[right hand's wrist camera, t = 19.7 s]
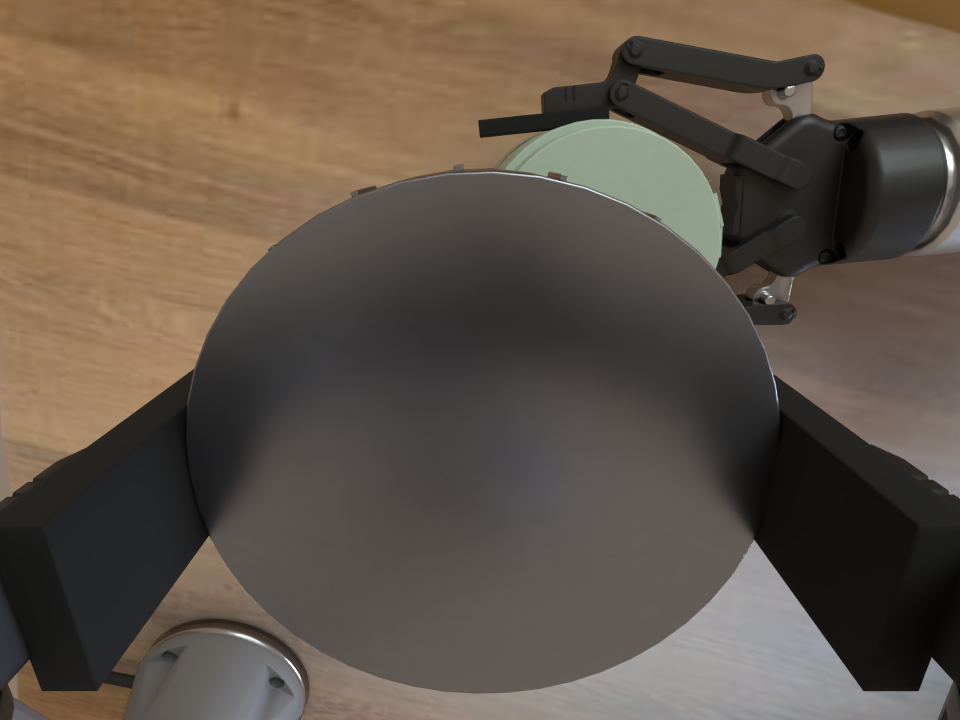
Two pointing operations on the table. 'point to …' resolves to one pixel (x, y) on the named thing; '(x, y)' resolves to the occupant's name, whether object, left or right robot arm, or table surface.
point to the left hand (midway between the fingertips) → (488, 228)
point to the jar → (629, 174)
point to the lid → (482, 431)
